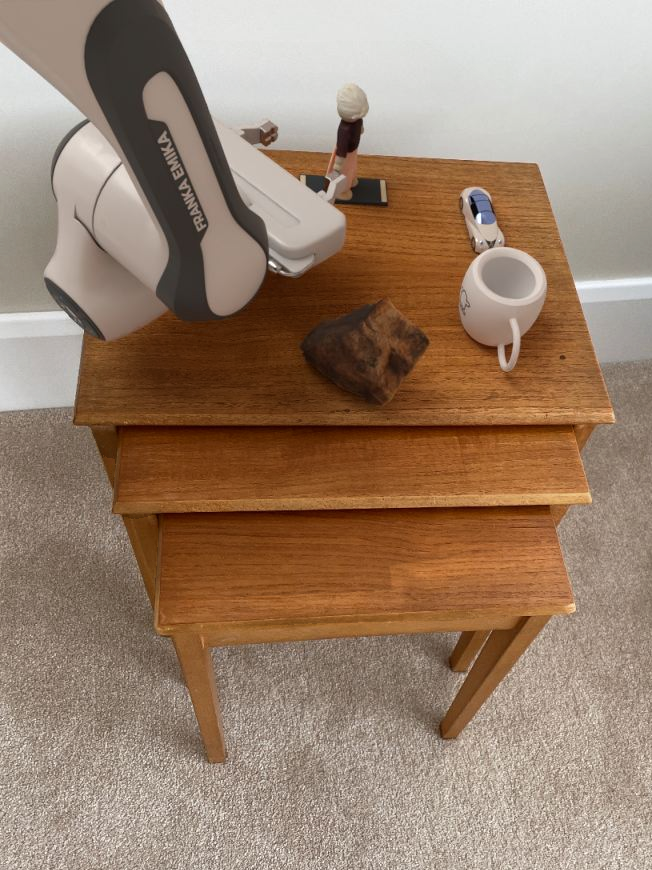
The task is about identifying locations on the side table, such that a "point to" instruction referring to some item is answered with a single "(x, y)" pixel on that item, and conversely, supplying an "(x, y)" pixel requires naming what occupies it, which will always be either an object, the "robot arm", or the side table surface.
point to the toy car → (480, 219)
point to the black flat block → (353, 189)
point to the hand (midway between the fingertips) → (307, 153)
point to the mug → (502, 299)
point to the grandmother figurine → (349, 134)
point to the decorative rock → (367, 350)
